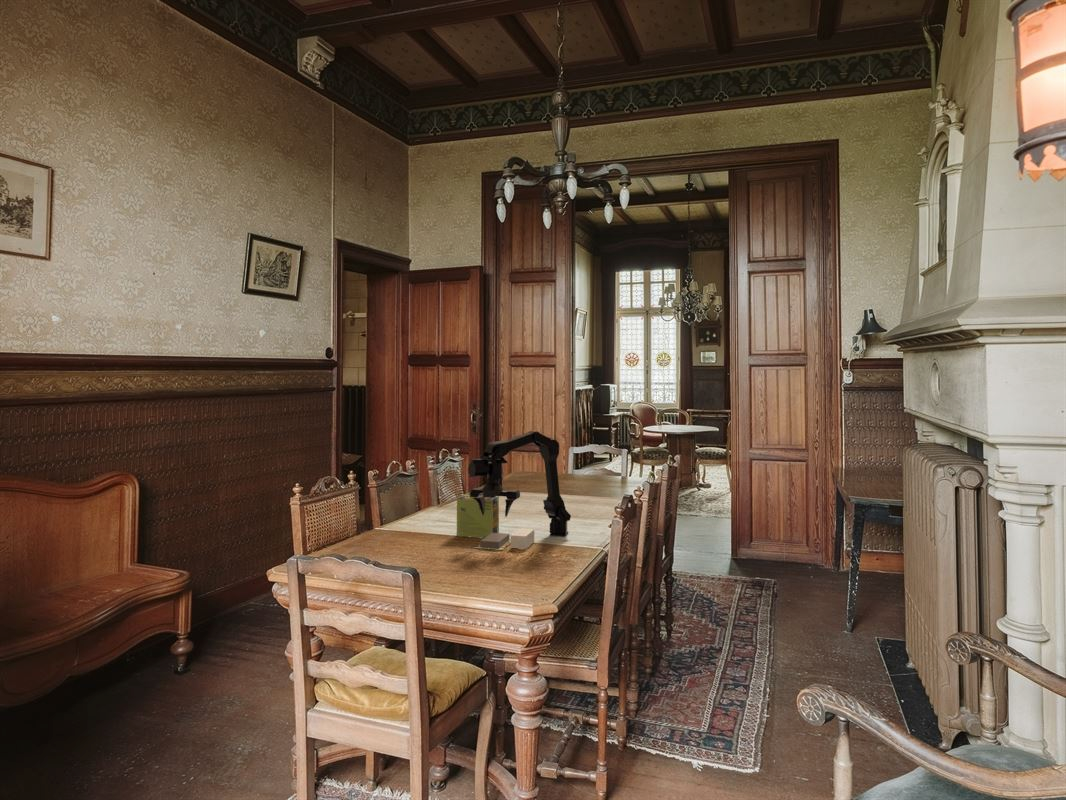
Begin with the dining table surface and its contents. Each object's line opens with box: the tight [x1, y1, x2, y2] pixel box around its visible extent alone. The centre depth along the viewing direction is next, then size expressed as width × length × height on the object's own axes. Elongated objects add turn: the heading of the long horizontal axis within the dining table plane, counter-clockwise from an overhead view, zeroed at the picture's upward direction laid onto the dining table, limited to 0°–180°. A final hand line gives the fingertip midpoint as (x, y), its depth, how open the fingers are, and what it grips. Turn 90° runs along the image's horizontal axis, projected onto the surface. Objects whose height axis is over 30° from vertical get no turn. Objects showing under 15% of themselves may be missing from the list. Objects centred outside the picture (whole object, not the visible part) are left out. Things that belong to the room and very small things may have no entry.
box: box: [510, 527, 535, 550], centre depth 256 cm, size 6×12×5 cm, turn 165°
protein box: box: [456, 494, 500, 538], centre depth 274 cm, size 10×15×16 cm
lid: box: [479, 532, 511, 549], centre depth 257 cm, size 7×13×2 cm, turn 165°
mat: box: [474, 538, 511, 551], centre depth 257 cm, size 11×16×1 cm
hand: (494, 515), depth 257 cm, fingers open, 9 cm apart
